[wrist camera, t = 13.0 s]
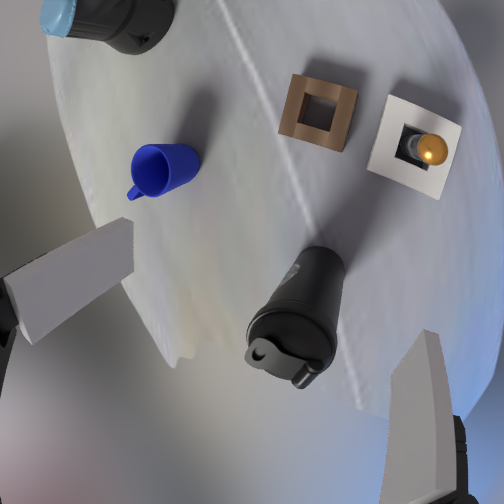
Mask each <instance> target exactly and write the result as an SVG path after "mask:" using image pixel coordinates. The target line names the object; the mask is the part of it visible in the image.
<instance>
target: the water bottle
mask: <svg viewBox="0 0 504 504" xmlns="http://www.w3.org/2000/svg"><path fill="white" fill-rule="evenodd" d="M343 280H344V265H343V262H342V260H341V258H340V257H339V256H338V255H337V254H336V253H335V252H334V251H332V250H331V249H328V248H326V247H320V246H316V247H310V248H308V249H306V250H304V251H303V252H302V253H301V254H300V255H299V256H298V258H297V259H296V261H295V262H294V264H293V265H292V267H291V268H290V269H289V271H288V272H287V274H286V275H285V277H284V278H283V280H282V281H281V283H280V284H279V286H278V287H277V289H276V290H275V292H274V293H273V295H272V296H271V298H270V300H269V301H268V303H267V304H266V305H265V306H264V307H262V308H261V309H260V310H259V311H258V312H257V313H256V315H255V316H254V318H253V319H252V321H251V322H250V324H249V326H248V329H247V335H246V338H247V343H248V347H249V348H248V350H247V352H246V354H245V361H246V362H247V363H248V364H249V365H251V366H252V367H254V368H257V369H264V370H265V371H266V372H268V373H269V374H271V375H273V376H275V377H278V378H281V379H285V380H291V382H292V384H293V385H294V386H295V387H296V388H298V389H304V388H306V387H307V386H308V385H309V384H310V383H311V382H312V381H313V380H314V379H315V378H316V377H317V376H318V375H319V374H320V373H322V372H323V371H325V370H326V369H327V368H328V367H329V366H330V365H331V363H332V361H333V359H334V357H335V353H336V349H337V343H338V342H337V333H336V330H337V324H338V317H339V310H340V303H341V296H342V288H343Z"/></svg>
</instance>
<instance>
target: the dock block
mask: <svg viewBox="0 0 504 504" xmlns="http://www.w3.org/2000/svg"><path fill="white" fill-rule="evenodd" d="M403 126H406V127H409V128H411V129H413V130H416V131H418V132H420V133H422V134H437V135H439V136H441V137H442V138H443V139H444V140H445V142H446V144H447V146H448V156H447V159H446V160H445V162H444V163H442V164H441V165H437V166H434V165H430V164H428V163H425V162H423V166H422V168H420V167H417V166H415V165H413V164H411V163H408V162H406V161H404V160H401V159H399V158H396V157H395V153H396V150H397V147H398V144H399V140H400V137H401V133H402V130H403ZM461 129H462V127H461V126H459V125H457V124H455V123H453V122H451V121H449V120H447V119H445V118H443V117H441V116H439V115H437V114H435V113H433V112H431V111H428V110H426V109H424V108H422V107H419V106H417V105H415V104H412V103H410V102H408V101H405V100H403V99H400V98H398V97H395V96H392V95H390V94H388V96H387V97H386V100H385V104H384V108H383V112H382V116H381V119H380V123H379V126H378V130H377V134H376V137H375V140H374V144H373V147H372V150H371V154H370V157H369V160H368V163H367V170H369V171H372V172H374V173H377V174H379V175H382V176H384V177H387V178H389V179H392V180H394V181H397V182H399V183H401V184H404V185H406V186H408V187H411V188H413V189H415V190H417V191H419V192H422V193H424V194H426V195H428V196H430V197H432V198H435V199H437V200H439V198H440V195H441V193H442V190H443V187H444V184H445V182H446V179H447V176H448V173H449V170H450V167H451V163H452V160H453V157H454V154H455V150H456V147H457V143H458V140H459V136H460V132H461Z"/></svg>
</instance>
